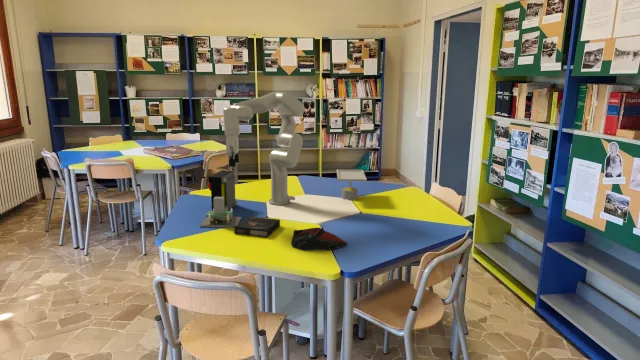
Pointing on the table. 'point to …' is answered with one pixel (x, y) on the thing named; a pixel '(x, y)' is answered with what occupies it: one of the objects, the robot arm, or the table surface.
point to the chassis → (221, 221)
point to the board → (219, 208)
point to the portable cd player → (257, 226)
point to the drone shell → (316, 240)
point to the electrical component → (223, 188)
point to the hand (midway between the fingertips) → (234, 164)
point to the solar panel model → (350, 176)
